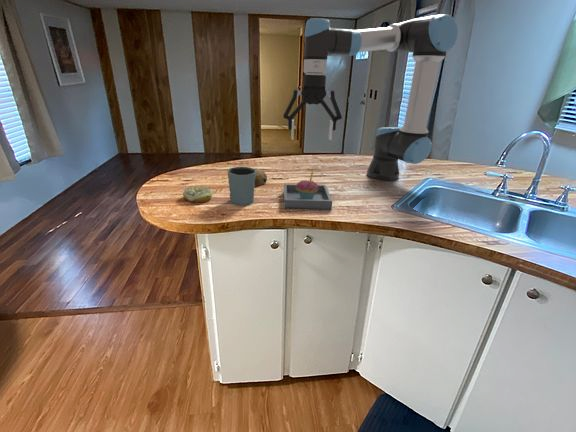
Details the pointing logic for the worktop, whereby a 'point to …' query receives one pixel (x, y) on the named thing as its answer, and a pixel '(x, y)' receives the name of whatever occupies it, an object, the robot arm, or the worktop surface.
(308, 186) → the cupcake
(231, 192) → the grey cup
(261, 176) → the bread roll
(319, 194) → the serving tray
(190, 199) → the decorated donut
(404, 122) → the robot arm
